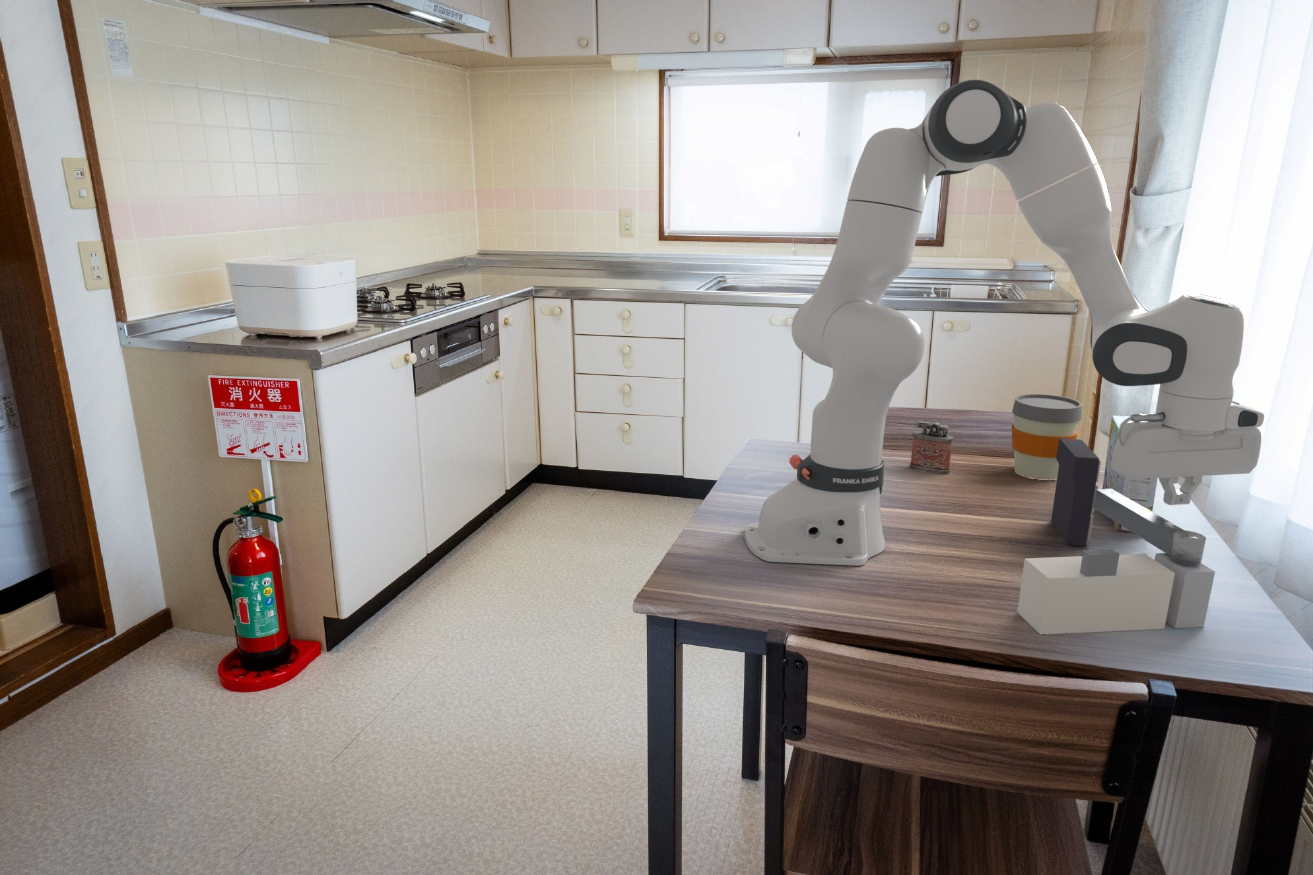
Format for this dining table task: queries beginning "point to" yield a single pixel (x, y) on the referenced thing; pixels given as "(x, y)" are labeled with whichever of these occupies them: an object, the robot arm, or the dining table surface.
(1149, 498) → the snack box
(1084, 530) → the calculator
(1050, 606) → the door slab
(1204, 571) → the post
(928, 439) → the lighter
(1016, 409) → the reusable coffee cup
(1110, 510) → the swing bar
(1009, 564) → the dining table surface
